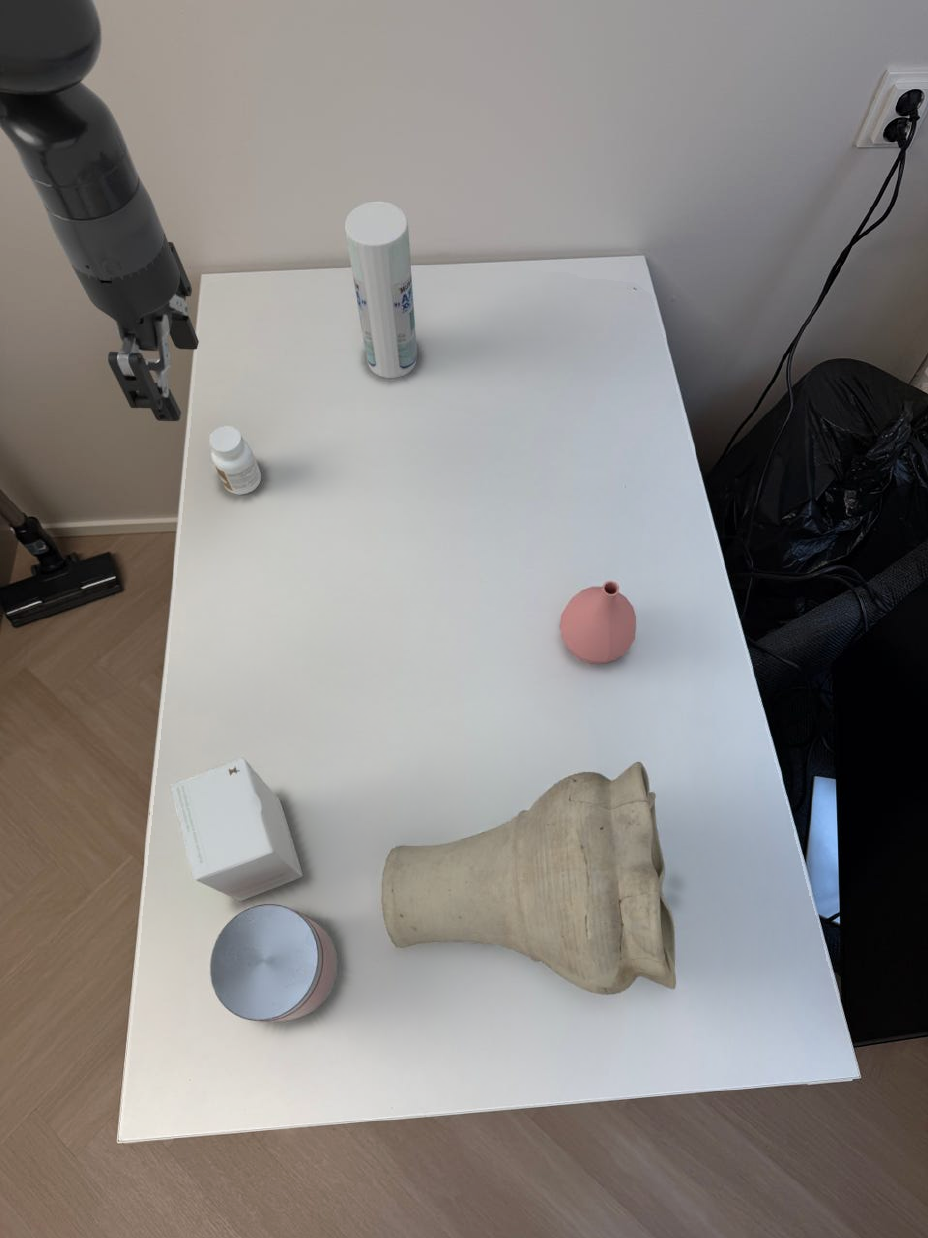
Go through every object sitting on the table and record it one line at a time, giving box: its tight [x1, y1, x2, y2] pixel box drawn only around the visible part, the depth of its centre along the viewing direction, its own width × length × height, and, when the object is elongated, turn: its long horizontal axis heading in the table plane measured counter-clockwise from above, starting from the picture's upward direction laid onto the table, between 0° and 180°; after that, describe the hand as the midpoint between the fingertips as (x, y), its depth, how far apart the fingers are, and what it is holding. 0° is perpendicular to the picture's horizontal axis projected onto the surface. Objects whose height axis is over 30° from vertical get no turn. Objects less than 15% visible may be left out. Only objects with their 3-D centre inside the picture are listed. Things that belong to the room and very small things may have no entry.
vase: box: [380, 761, 677, 996], centre depth 71 cm, size 22×22×28 cm
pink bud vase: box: [559, 580, 637, 665], centre depth 83 cm, size 8×8×12 cm
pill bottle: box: [208, 425, 262, 495], centre depth 93 cm, size 4×4×8 cm
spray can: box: [344, 200, 418, 379], centre depth 95 cm, size 6×6×20 cm
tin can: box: [209, 903, 339, 1022], centre depth 70 cm, size 8×8×11 cm
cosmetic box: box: [169, 756, 303, 902], centre depth 72 cm, size 8×7×16 cm
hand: (179, 381), depth 79 cm, fingers open, 8 cm apart
